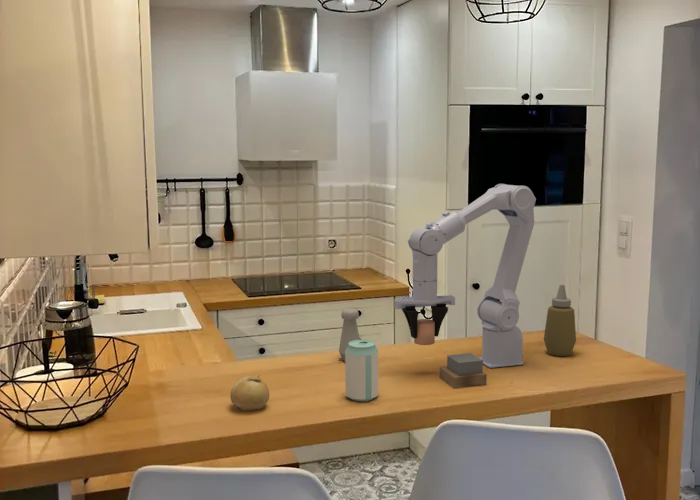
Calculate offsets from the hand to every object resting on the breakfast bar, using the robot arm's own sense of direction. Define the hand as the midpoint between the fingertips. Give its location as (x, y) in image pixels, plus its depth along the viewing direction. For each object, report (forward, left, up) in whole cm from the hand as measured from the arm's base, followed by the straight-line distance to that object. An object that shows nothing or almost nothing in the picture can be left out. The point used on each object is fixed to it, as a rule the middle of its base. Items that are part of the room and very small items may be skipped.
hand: (424, 336), depth 168 cm
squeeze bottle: (-39, -4, -9) cm, 40 cm away
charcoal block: (-7, +8, -7) cm, 12 cm away
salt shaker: (+14, -15, -9) cm, 23 cm away
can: (+19, +11, -9) cm, 23 cm away
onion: (+43, +10, -9) cm, 45 cm away
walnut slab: (-6, +8, -10) cm, 14 cm away
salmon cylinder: (0, 0, -1) cm, 1 cm away
